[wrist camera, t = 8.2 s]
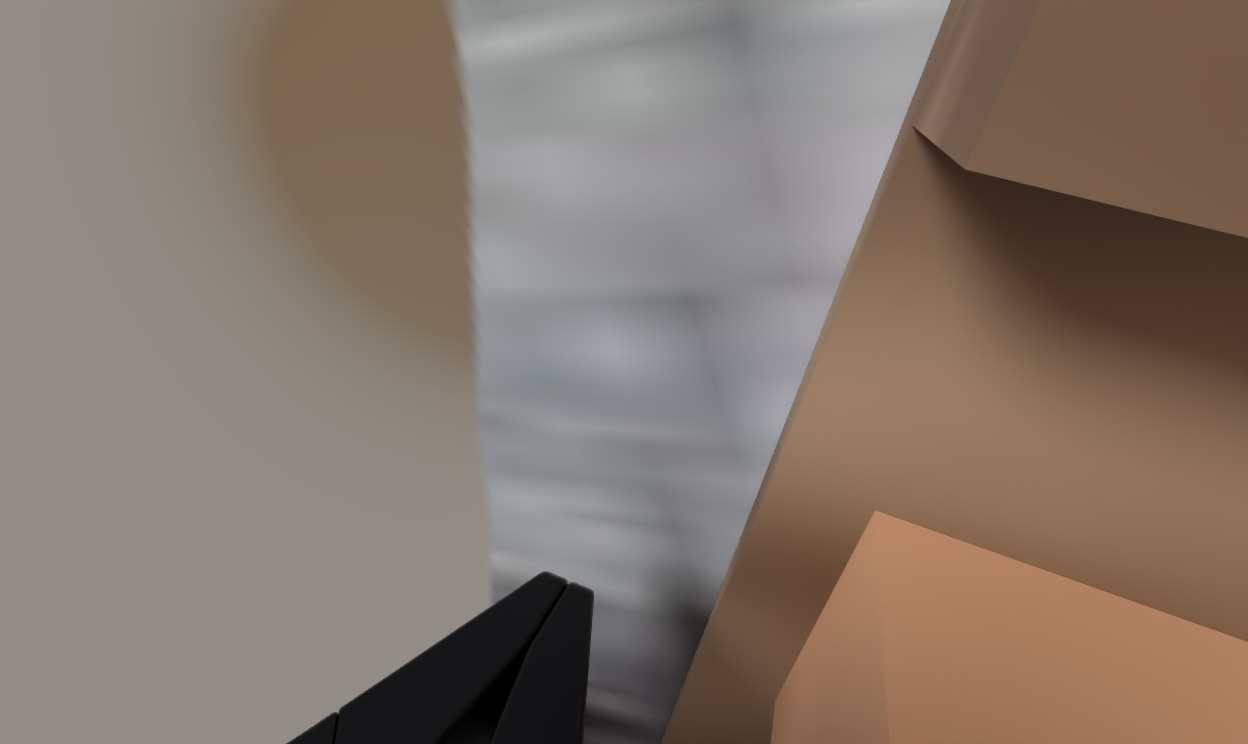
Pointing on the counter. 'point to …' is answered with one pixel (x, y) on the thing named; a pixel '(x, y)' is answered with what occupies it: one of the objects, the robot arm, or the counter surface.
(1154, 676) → the peach rectangular block
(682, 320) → the counter surface
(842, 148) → the counter surface
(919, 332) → the brown wooden tray
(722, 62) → the counter surface
